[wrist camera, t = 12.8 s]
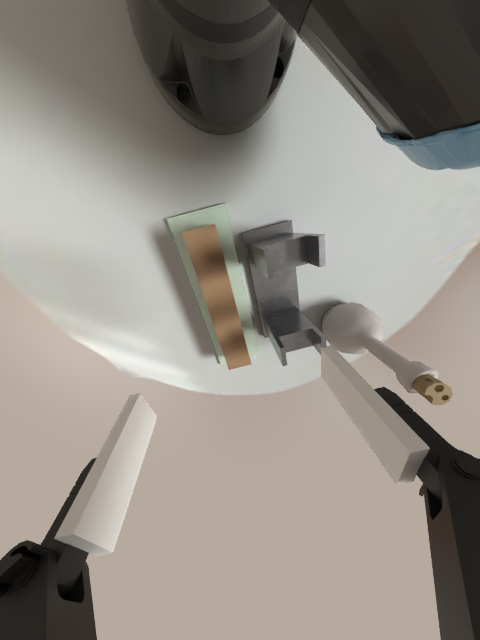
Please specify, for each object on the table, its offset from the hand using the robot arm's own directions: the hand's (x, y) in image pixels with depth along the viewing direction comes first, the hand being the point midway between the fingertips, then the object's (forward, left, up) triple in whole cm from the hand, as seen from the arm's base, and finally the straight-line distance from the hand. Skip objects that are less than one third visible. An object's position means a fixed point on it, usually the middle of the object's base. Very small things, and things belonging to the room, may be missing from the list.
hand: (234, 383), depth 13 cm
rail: (0, -1, -19) cm, 19 cm away
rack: (0, +8, -19) cm, 21 cm away
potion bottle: (+10, +20, -19) cm, 29 cm away
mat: (0, -1, -19) cm, 19 cm away
